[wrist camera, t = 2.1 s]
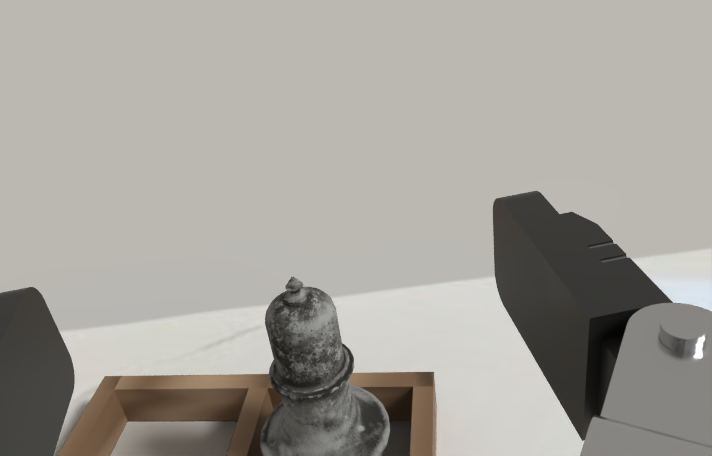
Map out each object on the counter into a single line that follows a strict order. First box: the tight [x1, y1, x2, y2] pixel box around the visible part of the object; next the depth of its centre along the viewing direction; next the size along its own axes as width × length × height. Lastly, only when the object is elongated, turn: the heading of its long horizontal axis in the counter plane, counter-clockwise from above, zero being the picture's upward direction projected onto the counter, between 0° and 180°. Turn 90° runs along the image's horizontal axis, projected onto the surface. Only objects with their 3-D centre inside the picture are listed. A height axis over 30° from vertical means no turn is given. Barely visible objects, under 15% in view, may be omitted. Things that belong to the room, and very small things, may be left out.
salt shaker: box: [260, 277, 390, 456], centre depth 28 cm, size 6×6×12 cm
